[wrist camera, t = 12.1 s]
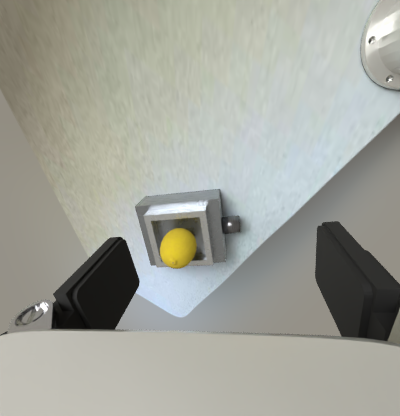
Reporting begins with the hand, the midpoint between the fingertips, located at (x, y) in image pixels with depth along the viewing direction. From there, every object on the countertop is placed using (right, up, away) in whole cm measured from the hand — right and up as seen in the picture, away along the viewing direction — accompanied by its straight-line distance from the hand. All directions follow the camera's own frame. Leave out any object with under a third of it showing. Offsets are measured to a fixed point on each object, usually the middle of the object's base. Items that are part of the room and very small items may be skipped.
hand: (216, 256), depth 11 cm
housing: (-2, 0, +31) cm, 31 cm away
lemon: (-4, -2, +27) cm, 27 cm away
